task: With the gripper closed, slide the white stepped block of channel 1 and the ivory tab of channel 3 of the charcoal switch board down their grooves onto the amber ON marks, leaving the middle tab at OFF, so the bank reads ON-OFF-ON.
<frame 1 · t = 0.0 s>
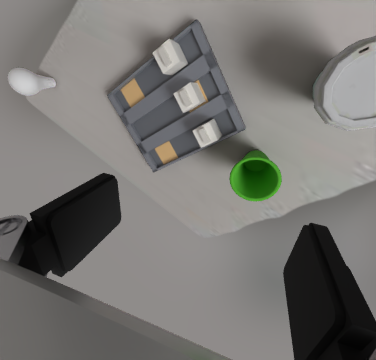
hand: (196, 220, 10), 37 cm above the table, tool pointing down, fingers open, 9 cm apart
cup: (255, 160, 45), on the table
switch board: (174, 110, 45), on the table
tab 3: (207, 133, 41), point 5 cm above the table, slide at 0.0 cm
lightbulb: (55, 82, 53), on the table
white stepped block 1: (170, 58, 37), point 5 cm above the table, slide at 0.0 cm
disposable coffee cup: (330, 87, 35), on the table
tab 2: (189, 97, 39), point 5 cm above the table, slide at 0.0 cm
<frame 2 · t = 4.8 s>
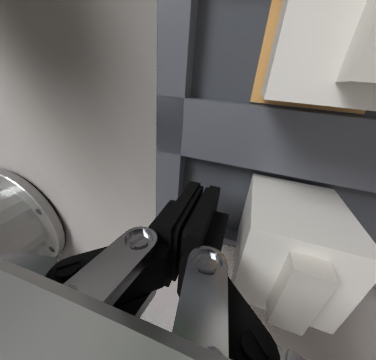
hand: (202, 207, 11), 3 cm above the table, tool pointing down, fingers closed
white stepped block 1: (286, 245, 9), point 5 cm above the table, slide at 0.6 cm, touching gripper
tab 2: (358, 23, 5), point 5 cm above the table, slide at 0.0 cm
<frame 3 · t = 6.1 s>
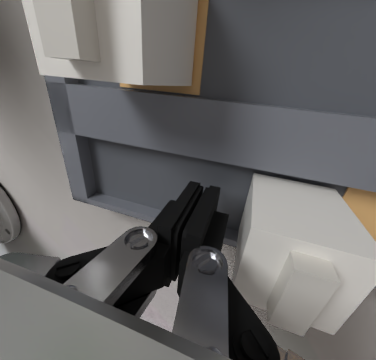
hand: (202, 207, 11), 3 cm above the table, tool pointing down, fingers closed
switch board: (283, 48, 9), on the table
white stepped block 1: (287, 245, 9), point 5 cm above the table, slide at 8.0 cm, touching gripper
tab 2: (120, 18, 7), point 5 cm above the table, slide at 0.0 cm
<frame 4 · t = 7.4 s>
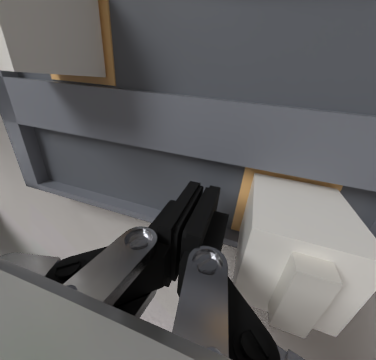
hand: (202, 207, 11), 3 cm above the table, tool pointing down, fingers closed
switch board: (184, 43, 11), on the table
white stepped block 1: (289, 246, 9), point 5 cm above the table, slide at 13.1 cm, touching gripper
tab 2: (15, 17, 8), point 5 cm above the table, slide at 0.0 cm
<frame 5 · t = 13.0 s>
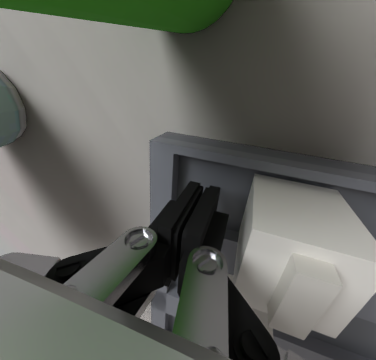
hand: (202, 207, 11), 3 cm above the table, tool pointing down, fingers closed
switch board: (315, 297, 15), on the table
tab 3: (288, 247, 9), point 5 cm above the table, slide at 1.1 cm, touching gripper
disposable coffee cup: (4, 103, 17), on the table
tab 2: (231, 330, 12), point 5 cm above the table, slide at 0.0 cm
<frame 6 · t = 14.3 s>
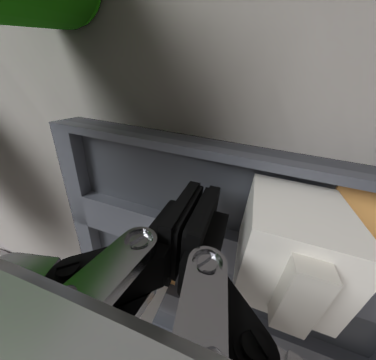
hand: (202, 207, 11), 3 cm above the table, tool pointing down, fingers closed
switch board: (220, 266, 17), on the table
tab 3: (288, 246, 9), point 5 cm above the table, slide at 8.6 cm, touching gripper
tab 2: (131, 289, 14), point 5 cm above the table, slide at 0.0 cm
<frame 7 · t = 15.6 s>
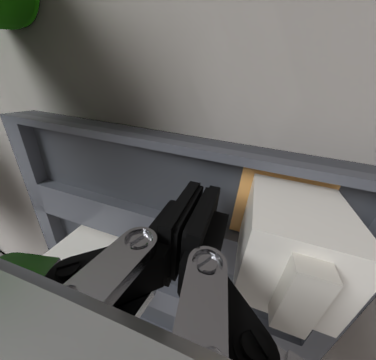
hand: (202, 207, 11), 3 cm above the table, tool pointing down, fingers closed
switch board: (171, 250, 18), on the table
tab 3: (289, 246, 9), point 5 cm above the table, slide at 13.2 cm, touching gripper
tab 2: (81, 269, 15), point 5 cm above the table, slide at 0.0 cm
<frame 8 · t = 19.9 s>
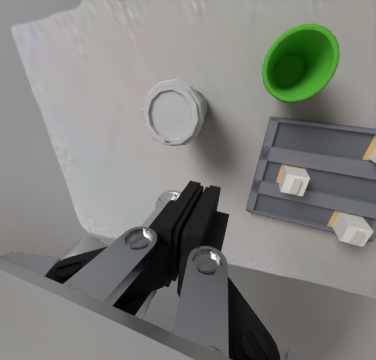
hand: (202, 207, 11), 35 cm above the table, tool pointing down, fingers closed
cup: (287, 71, 35), on the table
switch board: (320, 177, 41), on the table
white stepped block 1: (351, 229, 39), point 5 cm above the table, slide at 13.4 cm
disposable coffee cup: (195, 107, 43), on the table
tab 2: (293, 180, 38), point 5 cm above the table, slide at 0.0 cm
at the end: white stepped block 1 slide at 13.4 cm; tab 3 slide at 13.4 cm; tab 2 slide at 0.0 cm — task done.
